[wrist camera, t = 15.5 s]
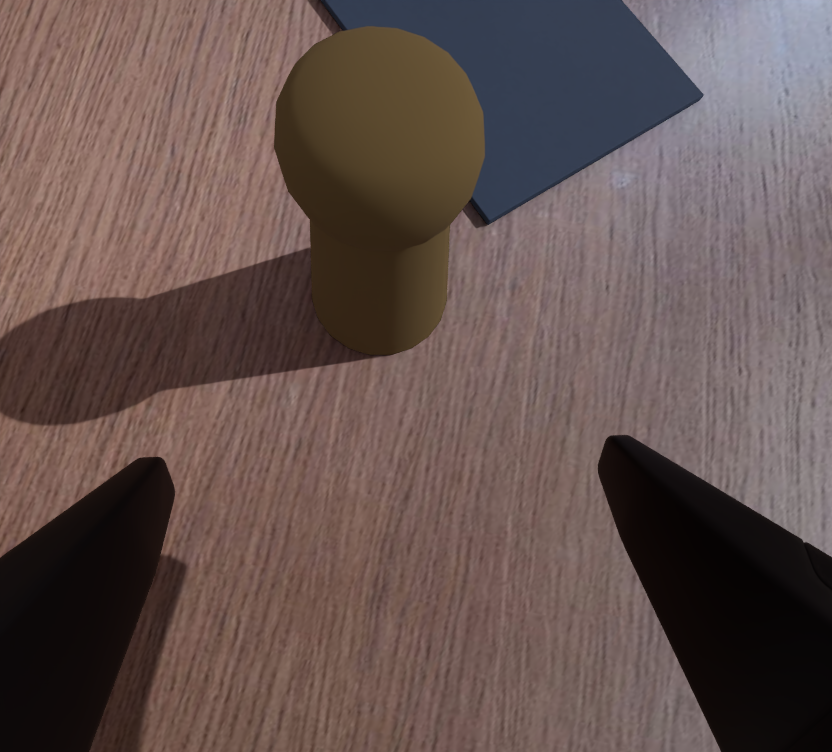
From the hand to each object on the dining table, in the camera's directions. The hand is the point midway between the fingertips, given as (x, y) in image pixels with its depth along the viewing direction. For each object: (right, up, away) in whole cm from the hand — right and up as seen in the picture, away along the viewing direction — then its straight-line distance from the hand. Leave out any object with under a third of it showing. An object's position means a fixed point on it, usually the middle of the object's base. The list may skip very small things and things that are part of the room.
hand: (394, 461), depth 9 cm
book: (+5, +19, +15) cm, 25 cm away
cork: (-1, +6, +11) cm, 13 cm away
